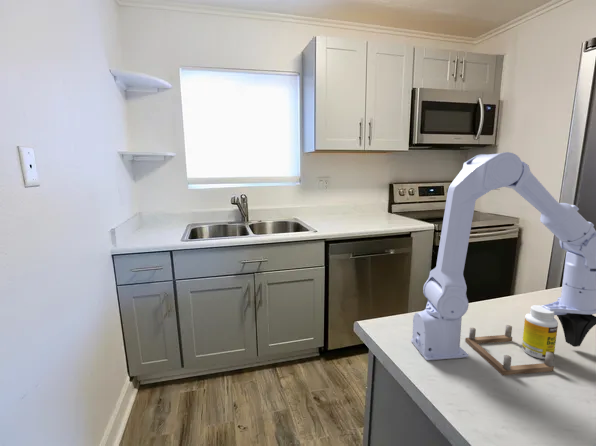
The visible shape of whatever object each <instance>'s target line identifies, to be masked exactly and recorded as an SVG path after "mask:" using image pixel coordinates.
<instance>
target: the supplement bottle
mask: <svg viewBox="0 0 596 446" xmlns="http://www.w3.org/2000/svg"><path fill="white" fill-rule="evenodd" d="M523 324H524V325H523V332H522V333H523V334H522V343H521V347H522V350H523V352H525V353H526V354H527V355H529V356H531V357H534V358H536V359H542V360H545V356H546V352H551V353H553V354H554V355H555V352H556V351H555V350H556V344H557V336H558V327H559V322H558V320H557V319H556V318H555V315H554V311H549V310H547V309H545V308H543V307H542V305H537V304H534V305H531V306H530V311H529V313H526V314H525V316H524V323H523Z"/></svg>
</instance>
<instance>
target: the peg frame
mask: <svg viewBox="0 0 596 446" xmlns="http://www.w3.org/2000/svg"><path fill="white" fill-rule="evenodd" d="M504 331H505V332H504V334H499V335H488V336H487V335H484V336H476V328H475V327H469V335H468V337H465V339H464V342H465V343H466V344H467V345H468V346H469V347H470V348H472V349H473V351H475V352H476V353H477V354H478V355H480V356H481V358H483V359H484V360H485V361H486V362H487V363H488V364H490V366H492V367H493V368H494V369H495V370H496V371H498V372H499V374H501V375H502V376H510V375H522V374H525V375H526V374H535V373H536V374H538V373H546V372H547V373H548V372H554V369H555V366H554V357H555V356H554V355H555V353H554V354H553V353H551V352H546V356H545V359H544V362H543V363H532V364H530V363H529V364H518V365H512V356H510V355H508V354H504V355H503V362H502V363H503V364H502V363H501V362H500V361H499V360H498V359H497V358H495V357H494V356H493V355H492V354H490V352H488V351H487V350H486V349H485V348H483V347H482V346H481V344H494V343H506V342H513V337H512V332H513V326H512V325H511V324H510V325H509V324H506V325H505V330H504Z"/></svg>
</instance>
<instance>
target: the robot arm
mask: <svg viewBox="0 0 596 446" xmlns="http://www.w3.org/2000/svg"><path fill="white" fill-rule="evenodd" d="M500 188H501V189H502V188H508V189H512V190H513V191H515V192H516V193H517V194H518V195H520V197H521V198H523V199H524V200H525V201H527V202H528V203H529V204H530V205H531V206H532V207H534V208H535V210H537V211H538V212H539V213H540V217H539V221H540V223H542V224H543V225H544V226H545V227H546V228H547V229H548V230H549V231H550V232H551V234H553V235H554V236H555V237H556V238H557V239H558V240H559V246H560V249H562V250H564V251H565V252H566V253H565V260H564V267H563V268H564V269H563V277H562V286H561V294H560V296H559V297H557V300H555V301H553V302H551V303H547V304H542V305H541V306H542V307H543V308H545V309H547V310H549V311H554V316H557V317H558V318H557V319H558V320H559V322H560V324H561V327H562V331H563V333H564V339H565V343H567V344H569V345H570V346H572V347H577V348H578V347H581V345H582V343H583V341H584V339H585V338H586V336H587V334H588V333H590V330H591V329H592V328H593V327H595V326H596V316H595V314H596V229H595V227H594V226H595V224H594V223H593V222H591V221H587V219H585V218H584V217H583V216H582V214H580V212H579V210H580V208H579V207H578V206H577V205H575V204H570V203H569V202H568V203H567V202H558V201H557V199H555V197H554V196H553V195H552V194H551V193H550V191H549V190H547V188H546V187H545V186H544V185H543V184H542V183H541V182H540V181H539V179H538V178H537V177H536V176H535V174H533V172H532V171H531V168H530V166H529V165H528V163H526V162H524V161H522V160H521V158H520V157H519V155H517V154H516V153H514V152H509V151H505V152H504V151H503V152H499V153H491V154H490V153H489V154H485V153H481V154H477V155H474V157H472V158H470V159H468V160H467V161H464V162H463V165H462V168H461V170H460V171H459V173H457V175H456V176H455V178H454V179H453V180H452V182H451V183H450V185H449V187H448V188H447V194H446V200H445V205H444V206H445V207H444V214H443V220H442V226H441V232H440V240H439V247H438V251H437V259H436V266H435V267H434V268H433V269H431V270H429V274H428V278H427V280H426V281H425V282H424V284H423V286H422V287H423V288H422V290H423V291H422V293H423V296H424V297H425V298H426V299H427V302H426V305H425V309H423V310H422V311H419V312H416V313H414V315H413V318H412V338H411V339H410V341H411V343H412V344H413V345H414V346H415V348H416V349H417V351H418V352H419V353H420V354H421V355H422V357H423V358H424V359H425V360H426V361H436V360H446V359H447V360H450V359H461V358H469V353H468V352H466V351H465V350H464V349H463V348H462V347H461V336H462V335H461V332H462V318H463V316H465V314H467V312H468V310H469V299H468V297H467V289H468V288H467V284H466V280H465V277H464V271H465V266H466V265H465V264H466V259H467V253H468V247H469V242H470V236H471V235H470V234H471V229H472V223H473V218H474V212H475V207H476V201H477V200H478V199H479V198H481V197H483V196H484V195H486V194H487V193H489V192H491V191H494V190H498V189H500Z"/></svg>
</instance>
